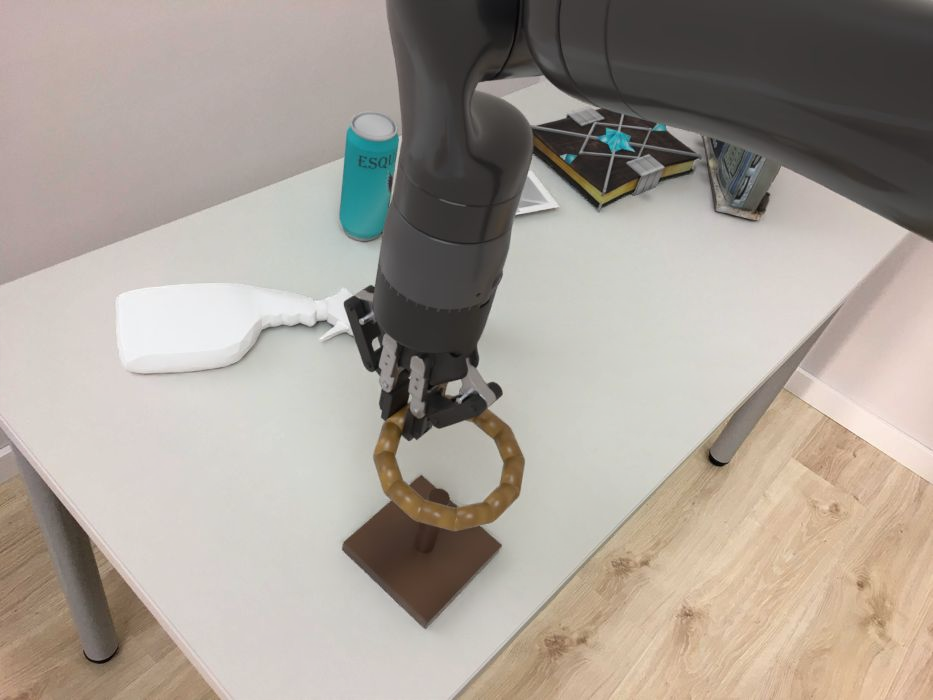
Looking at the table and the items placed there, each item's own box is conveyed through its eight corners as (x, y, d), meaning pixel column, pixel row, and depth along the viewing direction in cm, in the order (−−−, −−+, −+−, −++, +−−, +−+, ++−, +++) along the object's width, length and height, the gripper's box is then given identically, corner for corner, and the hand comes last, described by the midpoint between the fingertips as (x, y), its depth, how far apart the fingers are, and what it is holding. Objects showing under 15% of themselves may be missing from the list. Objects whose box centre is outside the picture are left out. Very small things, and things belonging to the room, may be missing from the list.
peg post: (498, 552, 72) (524, 500, 65) (425, 629, 66) (444, 581, 59) (418, 482, 75) (434, 425, 68) (341, 550, 69) (350, 495, 62)
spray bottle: (117, 302, 82) (349, 286, 90) (120, 385, 76) (370, 359, 84) (113, 282, 80) (352, 267, 88) (117, 365, 74) (374, 341, 82)
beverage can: (388, 245, 96) (404, 141, 85) (340, 245, 94) (350, 139, 83) (382, 214, 99) (396, 110, 88) (336, 213, 98) (345, 107, 87)
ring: (548, 468, 61) (554, 457, 60) (455, 563, 55) (459, 553, 54) (442, 380, 65) (445, 369, 63) (342, 460, 58) (344, 449, 57)
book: (619, 113, 126) (629, 85, 122) (695, 174, 119) (709, 146, 115) (518, 144, 115) (526, 115, 111) (595, 214, 108) (607, 185, 104)
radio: (700, 125, 128) (741, 39, 117) (751, 139, 128) (797, 55, 117) (700, 210, 113) (747, 121, 102) (758, 227, 113) (811, 139, 102)
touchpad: (433, 192, 104) (435, 179, 102) (529, 177, 110) (533, 164, 109) (459, 231, 100) (462, 218, 98) (557, 213, 106) (562, 200, 105)
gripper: (317, 225, 48) (306, 396, 61) (487, 357, 44) (436, 511, 57) (402, 180, 53) (374, 348, 65) (564, 296, 48) (500, 451, 61)
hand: (403, 423), depth 61 cm, fingers closed on ring, 1 cm apart
